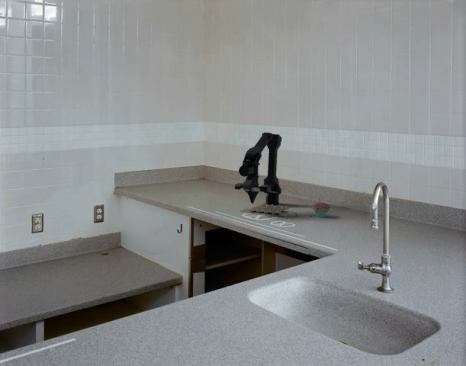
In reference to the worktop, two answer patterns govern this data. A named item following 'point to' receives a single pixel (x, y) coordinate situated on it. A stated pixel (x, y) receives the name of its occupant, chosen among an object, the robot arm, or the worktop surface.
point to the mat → (261, 212)
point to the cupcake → (321, 208)
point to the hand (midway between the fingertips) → (252, 203)
